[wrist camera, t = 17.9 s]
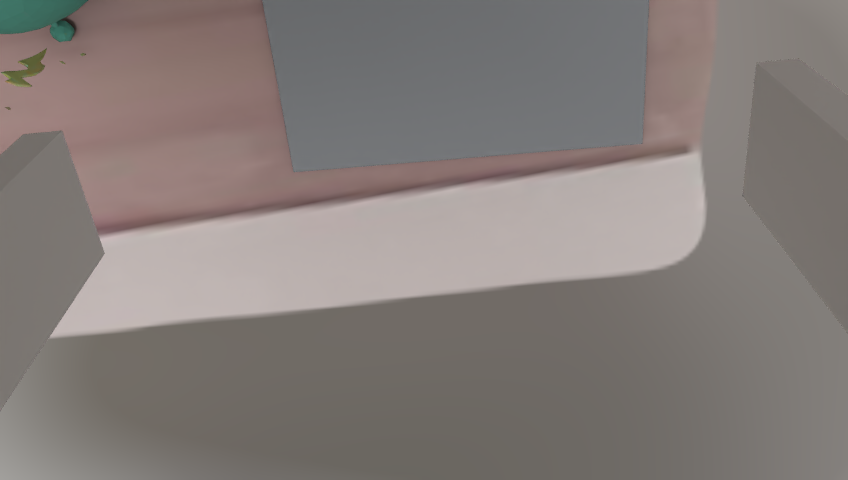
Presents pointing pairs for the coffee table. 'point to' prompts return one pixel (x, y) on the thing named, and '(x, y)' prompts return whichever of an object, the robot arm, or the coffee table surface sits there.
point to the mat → (455, 77)
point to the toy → (30, 10)
